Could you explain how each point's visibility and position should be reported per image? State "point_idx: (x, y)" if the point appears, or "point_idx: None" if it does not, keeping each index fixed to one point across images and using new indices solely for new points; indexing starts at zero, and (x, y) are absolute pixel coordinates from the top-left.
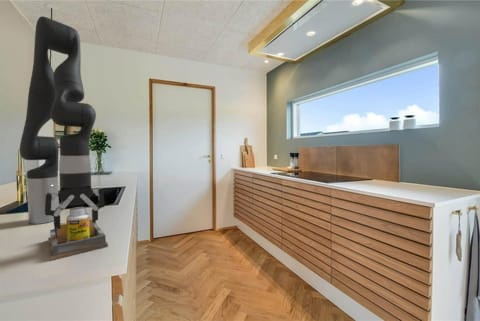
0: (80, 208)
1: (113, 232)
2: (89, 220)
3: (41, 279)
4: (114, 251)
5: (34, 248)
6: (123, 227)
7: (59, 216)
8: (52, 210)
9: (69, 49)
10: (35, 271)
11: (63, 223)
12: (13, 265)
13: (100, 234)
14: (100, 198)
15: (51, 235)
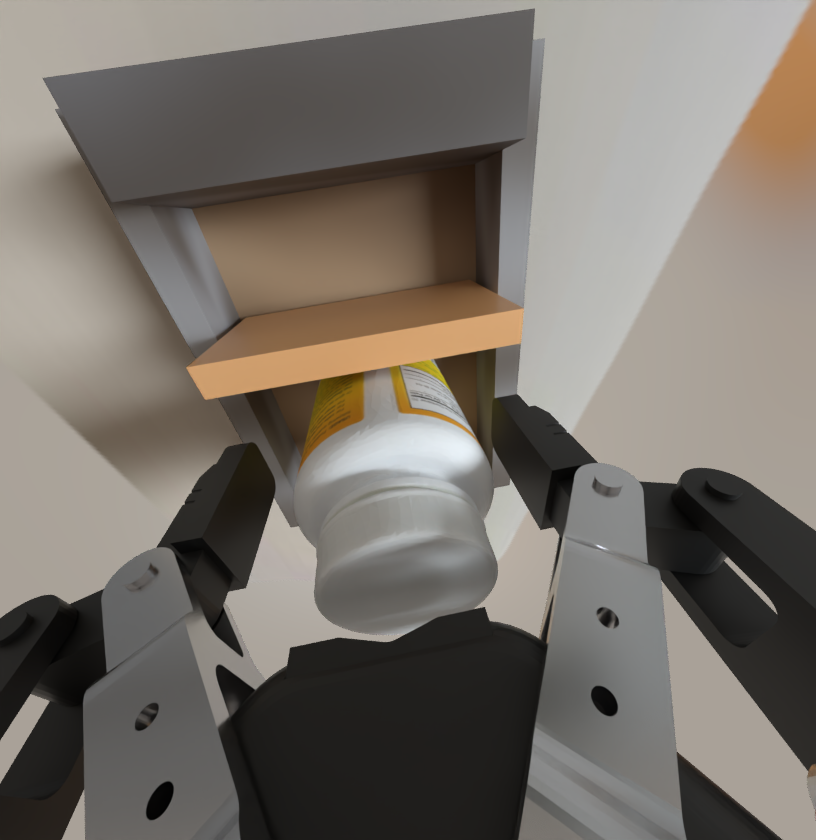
0: (437, 597)
1: (591, 238)
2: (479, 348)
3: (312, 575)
4: (502, 499)
5: (115, 298)
6: (707, 127)
7: (240, 588)
8: (104, 661)
9: None
10: (276, 539)
11: (247, 363)
12: (158, 479)
13: (493, 466)
14: (763, 695)
15: (194, 351)
